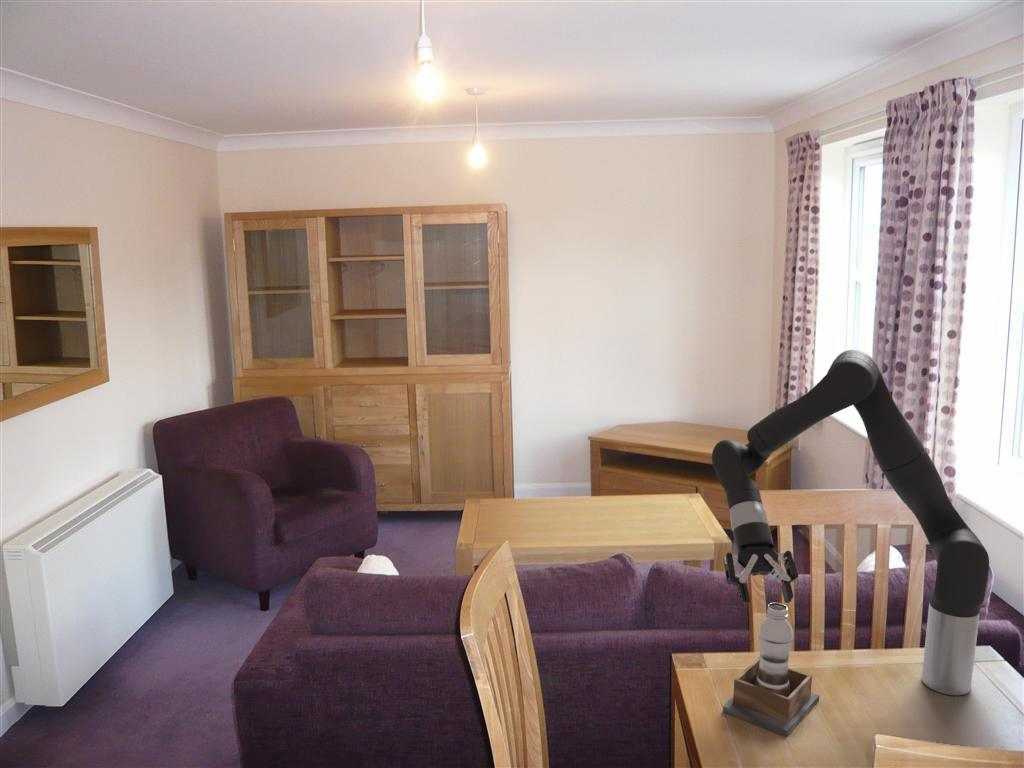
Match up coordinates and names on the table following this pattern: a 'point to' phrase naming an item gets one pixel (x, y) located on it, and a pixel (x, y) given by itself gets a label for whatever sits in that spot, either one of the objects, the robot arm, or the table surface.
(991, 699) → the table surface
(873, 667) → the table surface
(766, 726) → the bottle holder
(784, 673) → the metal bottle
